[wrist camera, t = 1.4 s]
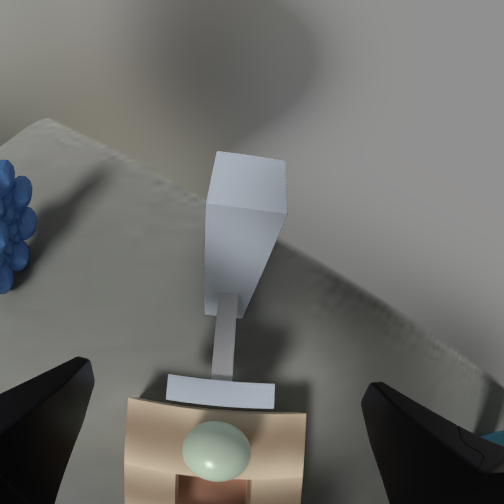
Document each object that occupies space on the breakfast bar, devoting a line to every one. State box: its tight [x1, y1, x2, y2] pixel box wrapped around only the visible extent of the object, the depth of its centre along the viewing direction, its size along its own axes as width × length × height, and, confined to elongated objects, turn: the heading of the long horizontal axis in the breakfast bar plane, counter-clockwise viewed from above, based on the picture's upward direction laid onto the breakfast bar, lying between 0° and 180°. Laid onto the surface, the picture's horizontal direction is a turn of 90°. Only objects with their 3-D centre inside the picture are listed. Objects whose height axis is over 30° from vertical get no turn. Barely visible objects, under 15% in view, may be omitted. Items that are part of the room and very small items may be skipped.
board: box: [124, 398, 306, 504], centre depth 14 cm, size 12×12×3 cm
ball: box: [182, 421, 251, 482], centre depth 13 cm, size 4×4×4 cm
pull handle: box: [166, 151, 287, 409], centre depth 15 cm, size 10×6×14 cm, turn 177°
